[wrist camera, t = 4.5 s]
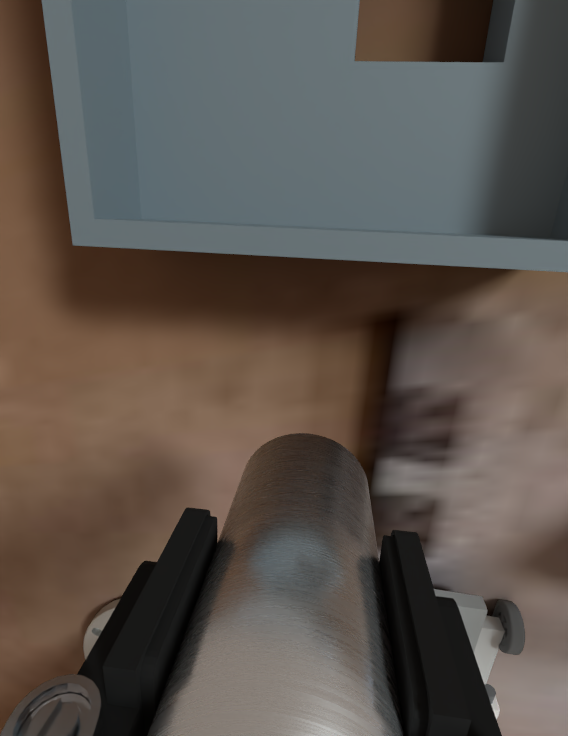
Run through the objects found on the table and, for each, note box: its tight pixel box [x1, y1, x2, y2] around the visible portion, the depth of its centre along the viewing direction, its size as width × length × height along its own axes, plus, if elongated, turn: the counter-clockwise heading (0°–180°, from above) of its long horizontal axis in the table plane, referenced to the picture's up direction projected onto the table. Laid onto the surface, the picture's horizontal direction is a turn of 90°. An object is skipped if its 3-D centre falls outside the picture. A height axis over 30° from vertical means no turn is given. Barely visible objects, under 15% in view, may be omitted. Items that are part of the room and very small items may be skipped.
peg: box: [147, 433, 404, 736], centre depth 8 cm, size 4×4×10 cm
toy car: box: [434, 589, 525, 720], centre depth 26 cm, size 18×10×12 cm
